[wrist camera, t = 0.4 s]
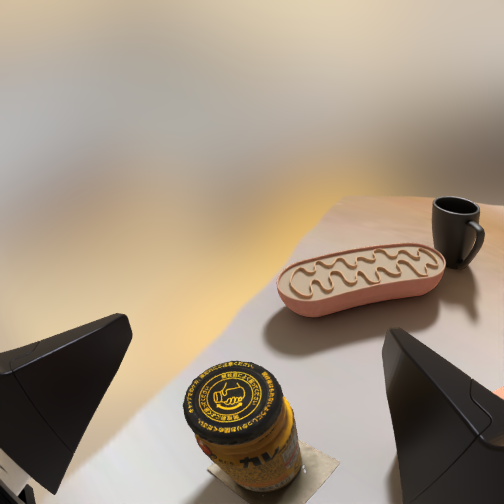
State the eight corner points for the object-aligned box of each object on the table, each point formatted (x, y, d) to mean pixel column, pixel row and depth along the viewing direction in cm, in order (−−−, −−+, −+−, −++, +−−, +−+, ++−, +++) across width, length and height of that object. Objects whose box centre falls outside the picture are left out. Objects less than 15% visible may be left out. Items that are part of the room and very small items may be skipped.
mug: (446, 290, 30) (457, 227, 26) (422, 249, 41) (425, 196, 36) (489, 284, 28) (502, 224, 24) (459, 246, 38) (465, 195, 34)
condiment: (264, 418, 22) (232, 331, 17) (340, 462, 16) (355, 392, 11) (207, 469, 18) (139, 402, 12) (281, 525, 12) (248, 512, 7)
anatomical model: (283, 338, 31) (277, 306, 29) (280, 290, 40) (274, 261, 38) (450, 302, 29) (457, 270, 26) (420, 264, 37) (423, 236, 35)
